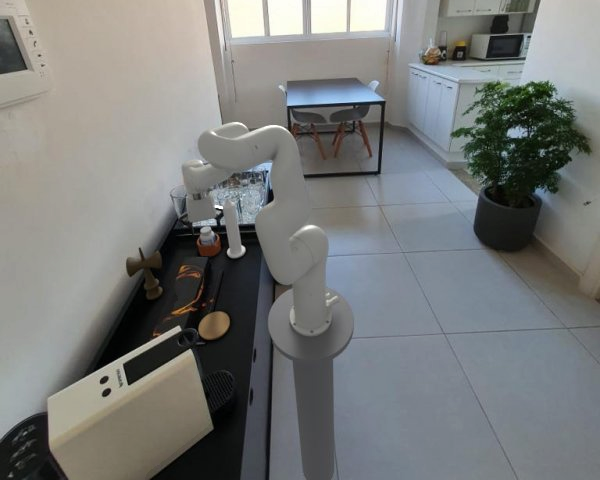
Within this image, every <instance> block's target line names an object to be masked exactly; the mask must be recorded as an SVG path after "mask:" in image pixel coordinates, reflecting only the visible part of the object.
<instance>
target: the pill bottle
mask: <svg viewBox="0 0 600 480" xmlns="http://www.w3.org/2000/svg"><path fill="white" fill-rule="evenodd" d="M199 232H200V235H199V237H200V239H201V243H202V245H203V246H207V245H211V244H213V243H215V242H216V240H215V235H214V233H215V232H214V231H213V230H212V227H211V226H210V225H209V226H207V225H205V226H203V227H201V228H200V230H199Z"/></svg>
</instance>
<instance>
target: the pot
mask: <svg viewBox="0 0 600 480" xmlns="http://www.w3.org/2000/svg"><path fill="white" fill-rule="evenodd" d="M214 235H215V240H216V242H215V243H213V244H211V245H207V246H203V245H202V243H201V239H200V236H199V237H198V239H197V240H196V246H197V249H198V253H199V255H200V256H201V257H203V256H209V257H208V258H210V257H214V256H216V255H217V254H219V253H220V252H221V249H222V245H221V239H220V236H219V234H217V233H215V232H214Z"/></svg>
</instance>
